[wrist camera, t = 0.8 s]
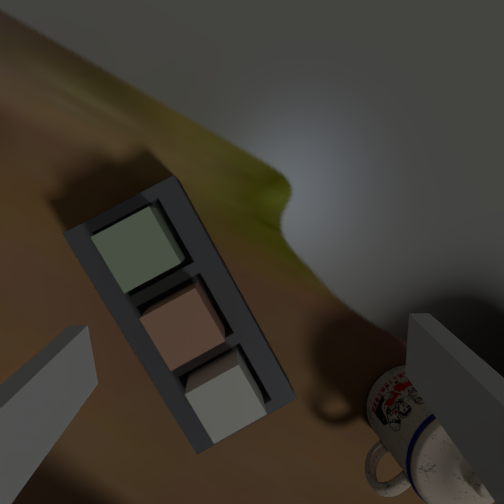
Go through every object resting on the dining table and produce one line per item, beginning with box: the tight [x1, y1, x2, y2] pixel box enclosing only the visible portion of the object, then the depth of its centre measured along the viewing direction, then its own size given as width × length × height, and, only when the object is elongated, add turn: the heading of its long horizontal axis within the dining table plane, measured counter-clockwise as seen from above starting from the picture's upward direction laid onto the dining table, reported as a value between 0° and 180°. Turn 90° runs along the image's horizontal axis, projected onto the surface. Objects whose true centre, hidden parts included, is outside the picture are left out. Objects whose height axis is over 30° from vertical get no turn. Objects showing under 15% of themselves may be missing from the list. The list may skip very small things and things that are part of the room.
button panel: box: [63, 175, 296, 454], centre depth 31 cm, size 10×22×4 cm, turn 28°
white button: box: [185, 348, 267, 444], centre depth 29 cm, size 5×5×4 cm
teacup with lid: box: [365, 365, 495, 504], centre depth 30 cm, size 12×9×12 cm
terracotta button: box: [139, 280, 225, 371], centre depth 28 cm, size 5×5×4 cm
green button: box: [91, 207, 185, 293], centre depth 27 cm, size 5×5×4 cm
